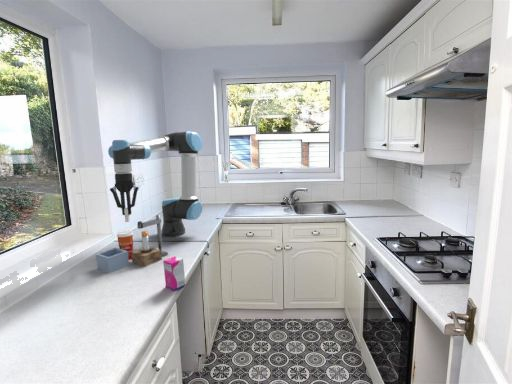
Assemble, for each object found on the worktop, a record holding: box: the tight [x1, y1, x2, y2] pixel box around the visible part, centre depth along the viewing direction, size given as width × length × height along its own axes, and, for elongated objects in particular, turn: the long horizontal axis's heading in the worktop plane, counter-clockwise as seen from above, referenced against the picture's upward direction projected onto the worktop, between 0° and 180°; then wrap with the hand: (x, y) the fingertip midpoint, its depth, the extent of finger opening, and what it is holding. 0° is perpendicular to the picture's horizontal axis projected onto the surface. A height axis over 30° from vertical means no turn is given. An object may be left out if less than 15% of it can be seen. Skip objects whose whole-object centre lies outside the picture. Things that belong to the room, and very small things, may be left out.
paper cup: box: [116, 229, 134, 261], centre depth 150 cm, size 8×8×14 cm
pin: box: [141, 230, 150, 253], centre depth 146 cm, size 3×3×15 cm
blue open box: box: [95, 247, 130, 274], centre depth 141 cm, size 10×10×7 cm
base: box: [162, 250, 169, 258], centre depth 154 cm, size 5×5×1 cm
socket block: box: [131, 246, 163, 267], centre depth 147 cm, size 10×10×5 cm
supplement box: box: [162, 256, 186, 292], centre depth 119 cm, size 6×6×12 cm
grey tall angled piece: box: [136, 214, 164, 253], centre depth 148 cm, size 13×2×20 cm, turn 147°
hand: (127, 221), depth 143 cm, fingers closed
